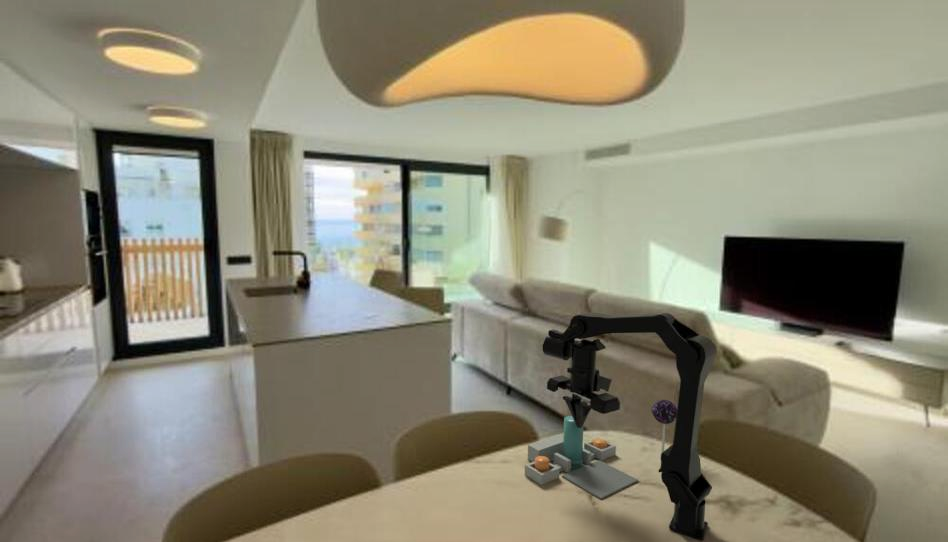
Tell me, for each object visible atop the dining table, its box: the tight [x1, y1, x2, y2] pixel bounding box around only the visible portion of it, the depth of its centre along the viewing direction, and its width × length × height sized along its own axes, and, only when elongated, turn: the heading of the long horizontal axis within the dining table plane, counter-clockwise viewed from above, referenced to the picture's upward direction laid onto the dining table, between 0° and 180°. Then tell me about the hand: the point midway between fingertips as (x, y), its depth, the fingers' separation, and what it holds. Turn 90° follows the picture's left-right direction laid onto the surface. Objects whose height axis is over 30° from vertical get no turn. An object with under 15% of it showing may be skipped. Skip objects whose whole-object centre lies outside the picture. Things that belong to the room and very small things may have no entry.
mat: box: [561, 459, 639, 500], centre depth 115 cm, size 12×14×1 cm
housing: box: [524, 432, 617, 486], centre depth 124 cm, size 12×28×4 cm, turn 126°
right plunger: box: [593, 438, 608, 449], centre depth 129 cm, size 4×4×3 cm
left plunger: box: [535, 456, 551, 473], centre depth 116 cm, size 4×4×3 cm
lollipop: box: [651, 399, 677, 453], centre depth 129 cm, size 7×7×15 cm
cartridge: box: [562, 415, 585, 470], centre depth 122 cm, size 5×5×12 cm
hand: (579, 427), depth 114 cm, fingers closed
